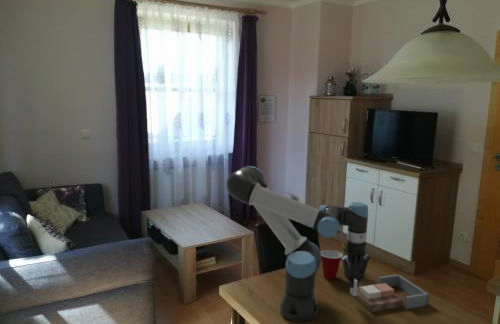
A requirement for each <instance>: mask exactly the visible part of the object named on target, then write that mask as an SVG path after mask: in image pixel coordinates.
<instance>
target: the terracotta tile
mask: <svg viewBox="0 0 500 324" xmlns="http://www.w3.org/2000/svg"><path fill="white" fill-rule="evenodd" d="M375 284H376V285H373V284H372V285H373V286H374V287H376V288H377V289H378V290H380V291H381V297H385V296H391V295H394V293H395V289H394V288H392V287H390V286H388V285H387V284H385V283H383V284H378V283H375Z"/></svg>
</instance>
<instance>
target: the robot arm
mask: <svg viewBox="0 0 500 324" xmlns="http://www.w3.org/2000/svg"><path fill="white" fill-rule="evenodd" d="M226 190H227V192H228V194H229V195H230V196H231V197H232V198H234V199H236V200H238V201H240V202H241V203H243V204H246V205H249V206H253V207H254V208H255V210H256V211H257V212H258V214H259V215H260V216H261V218H262V219H263V221H264V222H265V223H266V225H268V227H269V228H270V229H271V232H273V234H274V235H275V237H276V238H277V240H278V241H279V242H280V243H281V244H282V245H283V247H284V248H285V249H284V255H286V261H285V279H284V283H285V284H284V294H283V295H282V298H281V301H280V304H279V312H280V314H281V316H282V317H283V318H285V319H287V320H288V321H289V320H290V321H293V322H296V323H297V322H298V323H305V322H306V323H307V322H310V321H313V320H314V319H315V318H316V317H317V316H318V314H319V313H318V311H319V308H318V304H317V301H316V296H315V289H316V288H315V285H316V276H317V273H318V270H319V267H320V266H321V264H322V259H321V251H320V248H319V247H318V246H317V245H316V244H315V243H314V242H311V241H310V240H309V239H308V237H306V236H302V235H301V234H300V233H299V232H298V230H297V229H296V227H295V226H294V225H293V224H292V222H291V221H290V220H292V221H295V222H297V223H298V224H299V223H300V224H301V225H304V226H305V227H309V228H312V229H313V230H316V231H317V232H318V234H320V235H321V236H322V237H323V238H329V239H330V238H333V237H335V236H336V234H338V232H339V230H340V226H344V227H345V226H347V237H346V247H347V253H346V255H344V256H345V257H343V256H342V257H341V260H340V262H341V263H342V268H343V273H344V277H345V279H346V280H348V286H349V294H350V293H351V294H352V295H353V296H357V287H360V282H361V281H362V279H364V277H365V274H366V270H367V266H368V264H369V263H368V262H369V261H370V259H371V256H370V255H368V254H367V253H366V250H367V249H366V248H367V247H366V246H367V236H368V235H367V232H368V222H369V221H368V220H369V206H368V204H366V203H364V202H359V201H354V202H350V203H349V204H348V206H339V205H337V206H336V205H329V204H326V205H325V204H322V205H320V206H319V207H318V208H315V207H314V206H311V205H308V204H305V203H304V202H301V201H299V200H296V199H293V198H290V197H288V196H286V195H283V194H280V193H278V192H276V191H273V190H271V189H269V186H268V184H267V183H266V182H265V177H264V174H263V172H262V170H260V169H259V168H258V167H256V166H252V165H248V166H243V167H242V168H240V169H238V170H236V171H234V172H232V173H231V174H230V175H229V177H228V178H227V180H226ZM348 259H349V263H350V265H348ZM316 319H317V318H316Z"/></svg>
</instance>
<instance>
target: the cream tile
mask: <svg viewBox="0 0 500 324" xmlns="http://www.w3.org/2000/svg"><path fill="white" fill-rule="evenodd" d="M368 285H369V286H366V285H362V286H363V287H361V288H360V293H362V294H363V295H364V296H365V297H366V298H368V299H373V298H379V297H381V291H380V290H378V289H377V288H376V287H374V286H373V284H368Z"/></svg>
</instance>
